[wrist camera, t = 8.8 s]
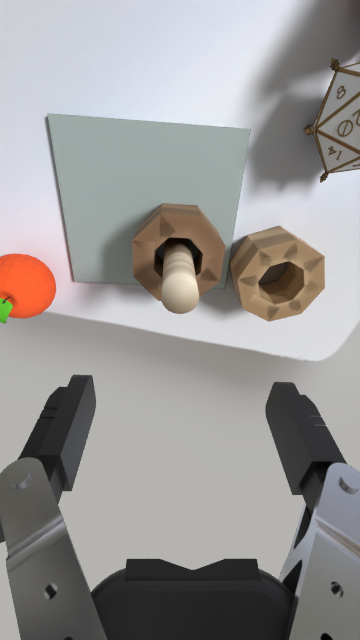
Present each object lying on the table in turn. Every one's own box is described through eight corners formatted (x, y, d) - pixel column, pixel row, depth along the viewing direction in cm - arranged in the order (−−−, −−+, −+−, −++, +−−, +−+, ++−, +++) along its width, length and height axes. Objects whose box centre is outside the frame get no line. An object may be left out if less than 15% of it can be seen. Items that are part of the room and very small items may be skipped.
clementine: (52, 314, 35) (27, 348, 29) (-4, 289, 33) (-43, 321, 27) (72, 264, 32) (49, 291, 26) (11, 233, 30) (-30, 255, 24)
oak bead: (224, 241, 31) (232, 257, 26) (302, 219, 29) (324, 231, 25) (237, 305, 35) (246, 327, 31) (305, 287, 34) (324, 308, 30)
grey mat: (50, 113, 24) (47, 113, 24) (249, 129, 25) (250, 129, 25) (75, 279, 33) (74, 281, 32) (223, 286, 34) (224, 288, 33)
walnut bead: (137, 201, 28) (131, 211, 23) (221, 206, 28) (229, 217, 24) (139, 279, 32) (134, 299, 28) (211, 283, 33) (216, 303, 28)
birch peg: (165, 232, 29) (161, 279, 19) (191, 234, 30) (200, 281, 19) (164, 257, 31) (160, 312, 21) (188, 259, 31) (197, 314, 21)
